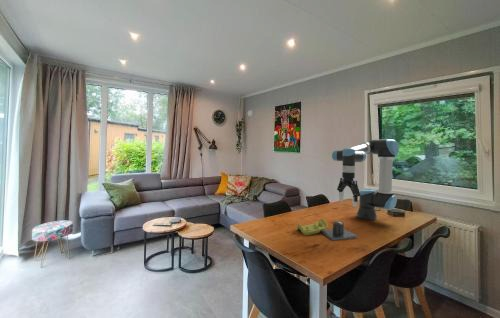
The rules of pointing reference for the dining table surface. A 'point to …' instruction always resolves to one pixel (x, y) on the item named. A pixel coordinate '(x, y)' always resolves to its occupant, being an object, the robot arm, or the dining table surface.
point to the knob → (338, 227)
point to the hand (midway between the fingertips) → (347, 203)
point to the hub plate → (334, 236)
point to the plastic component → (313, 227)
